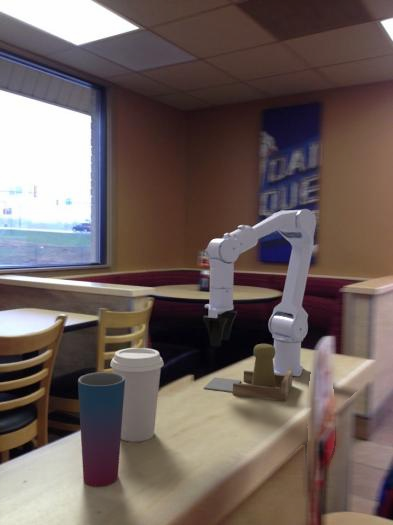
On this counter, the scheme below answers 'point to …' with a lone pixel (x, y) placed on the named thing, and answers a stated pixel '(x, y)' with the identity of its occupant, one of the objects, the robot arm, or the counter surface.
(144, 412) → the coffee cup
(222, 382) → the mat
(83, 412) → the cup
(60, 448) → the counter surface
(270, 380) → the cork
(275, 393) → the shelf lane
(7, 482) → the counter surface
